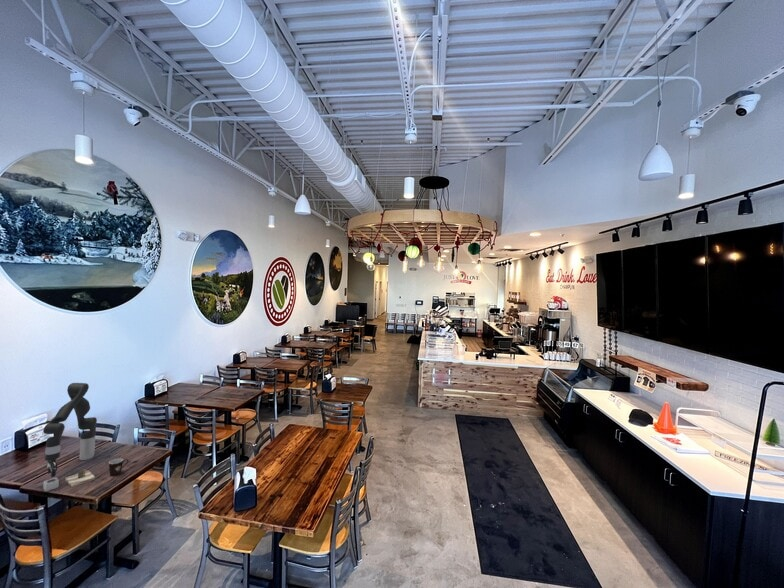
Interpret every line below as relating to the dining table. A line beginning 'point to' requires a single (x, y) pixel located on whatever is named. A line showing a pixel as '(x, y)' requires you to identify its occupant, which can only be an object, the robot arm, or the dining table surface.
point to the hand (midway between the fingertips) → (51, 474)
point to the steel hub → (50, 484)
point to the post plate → (80, 478)
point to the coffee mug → (116, 466)
